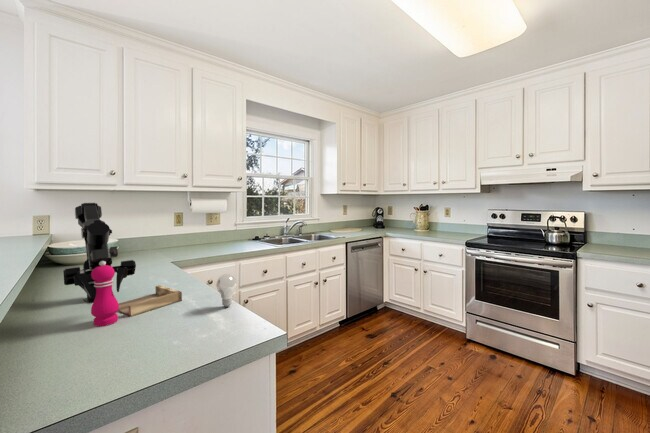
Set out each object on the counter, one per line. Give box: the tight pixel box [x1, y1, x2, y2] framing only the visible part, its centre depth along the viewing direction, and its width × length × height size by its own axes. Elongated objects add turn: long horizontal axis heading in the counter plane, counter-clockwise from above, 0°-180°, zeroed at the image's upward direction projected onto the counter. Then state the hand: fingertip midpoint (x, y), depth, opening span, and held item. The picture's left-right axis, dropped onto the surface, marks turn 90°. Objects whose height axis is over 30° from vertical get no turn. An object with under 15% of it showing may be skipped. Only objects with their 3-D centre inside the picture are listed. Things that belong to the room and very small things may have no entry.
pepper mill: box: [90, 261, 119, 327], centre depth 96 cm, size 7×7×20 cm
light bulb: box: [215, 273, 237, 308], centre depth 109 cm, size 7×7×12 cm
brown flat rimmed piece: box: [117, 284, 183, 318], centre depth 113 cm, size 16×18×4 cm
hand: (104, 294), depth 95 cm, fingers open, 7 cm apart
